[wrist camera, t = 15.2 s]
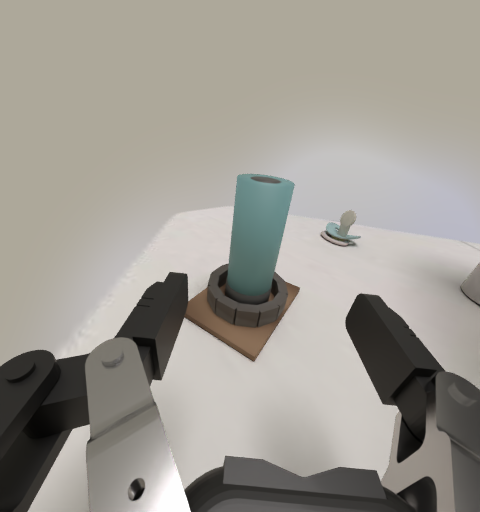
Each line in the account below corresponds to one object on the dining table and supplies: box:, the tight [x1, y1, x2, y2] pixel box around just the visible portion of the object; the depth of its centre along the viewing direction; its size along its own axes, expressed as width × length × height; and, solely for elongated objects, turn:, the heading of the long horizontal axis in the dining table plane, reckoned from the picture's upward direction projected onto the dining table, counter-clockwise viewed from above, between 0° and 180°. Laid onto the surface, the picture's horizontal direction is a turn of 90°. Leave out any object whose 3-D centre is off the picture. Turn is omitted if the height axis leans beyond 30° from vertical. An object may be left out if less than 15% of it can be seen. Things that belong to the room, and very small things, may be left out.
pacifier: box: [321, 210, 361, 246], centre depth 43 cm, size 7×6×6 cm
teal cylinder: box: [225, 174, 294, 305], centre depth 21 cm, size 5×5×13 cm
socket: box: [184, 264, 300, 361], centre depth 24 cm, size 12×9×3 cm
